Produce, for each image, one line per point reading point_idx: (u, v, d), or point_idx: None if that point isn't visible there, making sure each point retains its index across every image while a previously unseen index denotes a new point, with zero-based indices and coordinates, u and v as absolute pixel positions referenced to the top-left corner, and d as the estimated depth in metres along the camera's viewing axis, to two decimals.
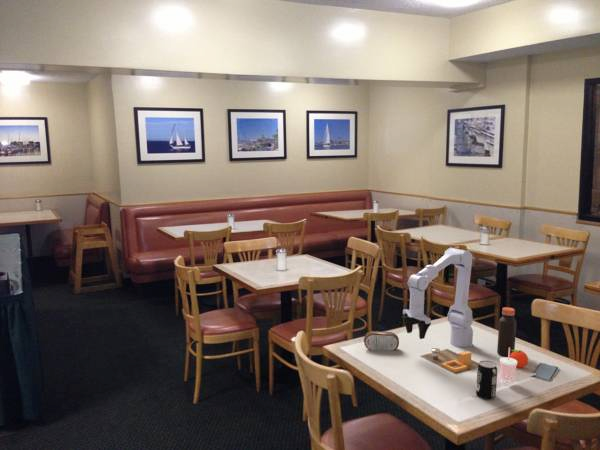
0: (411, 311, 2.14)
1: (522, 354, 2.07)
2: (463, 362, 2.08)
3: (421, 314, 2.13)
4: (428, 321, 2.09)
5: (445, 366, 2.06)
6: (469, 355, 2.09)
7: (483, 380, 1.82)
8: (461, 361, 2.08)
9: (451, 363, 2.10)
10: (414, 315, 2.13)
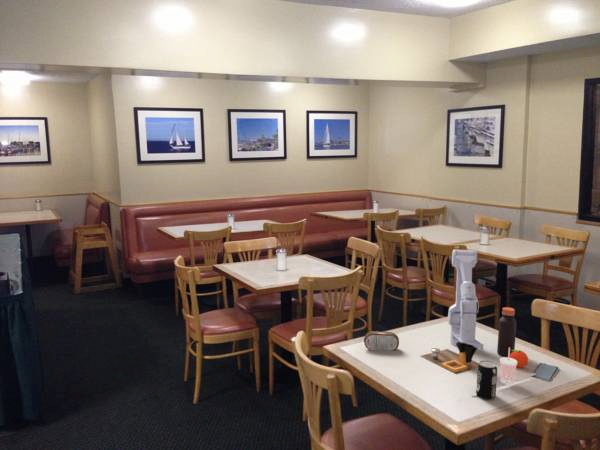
0: (462, 336, 2.07)
1: (522, 354, 2.07)
2: (463, 362, 2.08)
3: (473, 339, 2.06)
4: (481, 347, 2.03)
5: (445, 366, 2.06)
6: None
7: (483, 380, 1.82)
8: (461, 361, 2.08)
9: (451, 363, 2.10)
10: (465, 340, 2.06)
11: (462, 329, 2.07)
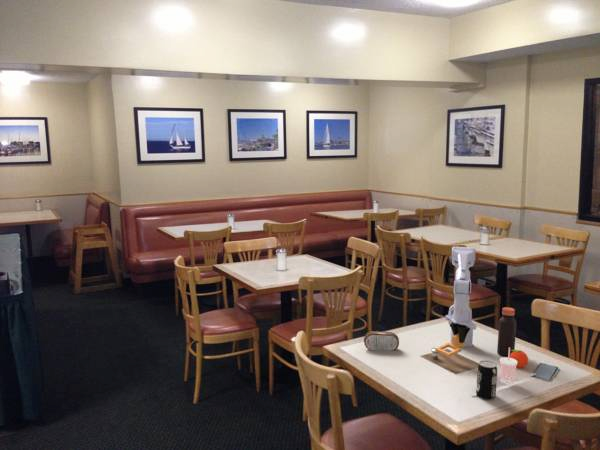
0: (455, 317, 2.10)
1: (522, 354, 2.07)
2: (457, 344, 2.11)
3: (466, 320, 2.09)
4: (474, 327, 2.05)
5: (439, 351, 2.09)
6: None
7: (483, 380, 1.82)
8: (455, 344, 2.11)
9: (445, 346, 2.13)
10: (458, 321, 2.09)
11: (455, 310, 2.09)
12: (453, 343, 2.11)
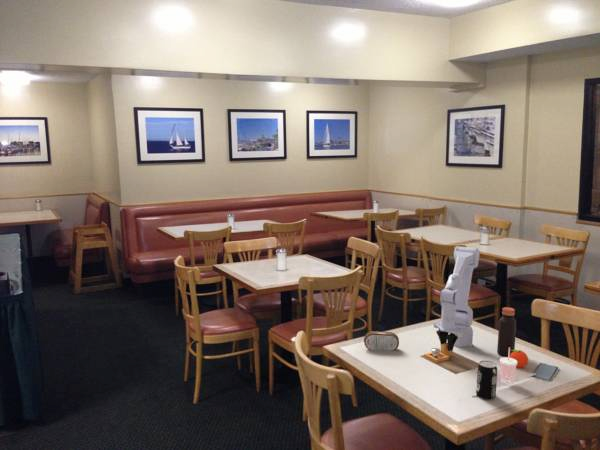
0: (443, 325, 2.16)
1: (522, 354, 2.07)
2: (445, 353, 2.17)
3: (453, 328, 2.15)
4: (460, 335, 2.11)
5: (428, 356, 2.16)
6: None
7: (483, 380, 1.82)
8: (443, 352, 2.17)
9: None
10: (446, 329, 2.15)
11: (443, 318, 2.16)
12: (441, 351, 2.18)
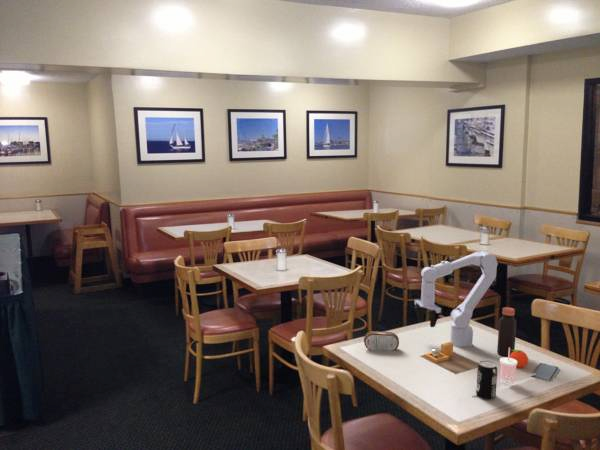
0: (422, 301, 2.29)
1: (522, 354, 2.07)
2: (445, 353, 2.17)
3: (432, 304, 2.28)
4: (439, 310, 2.25)
5: (428, 356, 2.16)
6: (451, 346, 2.19)
7: (483, 380, 1.82)
8: (443, 352, 2.17)
9: None
10: (425, 305, 2.28)
11: (422, 295, 2.29)
12: (441, 351, 2.18)
